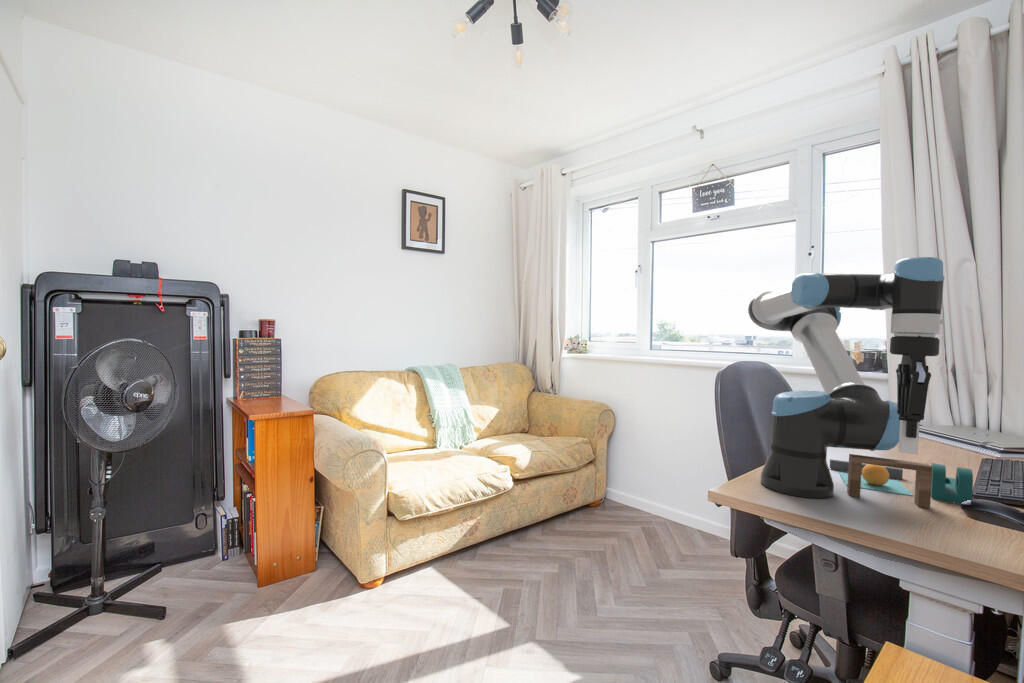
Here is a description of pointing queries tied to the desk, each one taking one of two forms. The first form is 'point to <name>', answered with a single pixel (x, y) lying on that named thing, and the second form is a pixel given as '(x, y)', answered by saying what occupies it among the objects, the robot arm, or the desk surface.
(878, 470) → the ball
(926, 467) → the bridge
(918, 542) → the desk surface
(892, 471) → the wall
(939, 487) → the bracket
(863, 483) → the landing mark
